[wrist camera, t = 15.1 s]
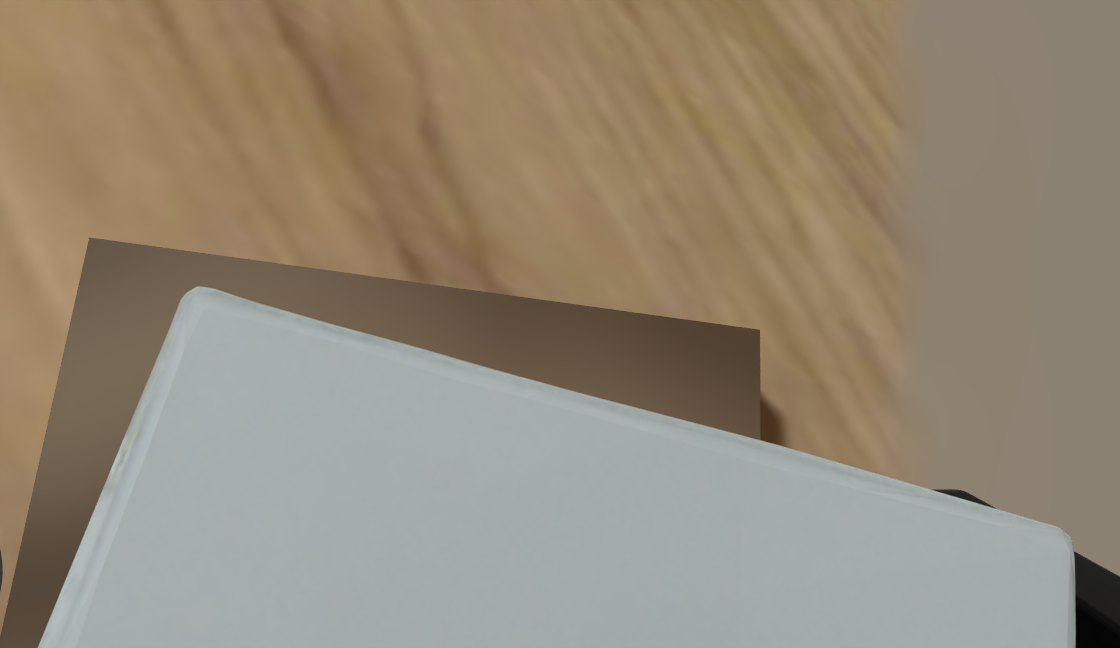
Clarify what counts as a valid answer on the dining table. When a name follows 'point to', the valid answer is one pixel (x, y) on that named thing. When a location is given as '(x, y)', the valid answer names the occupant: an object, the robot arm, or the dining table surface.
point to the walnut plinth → (355, 303)
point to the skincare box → (508, 517)
